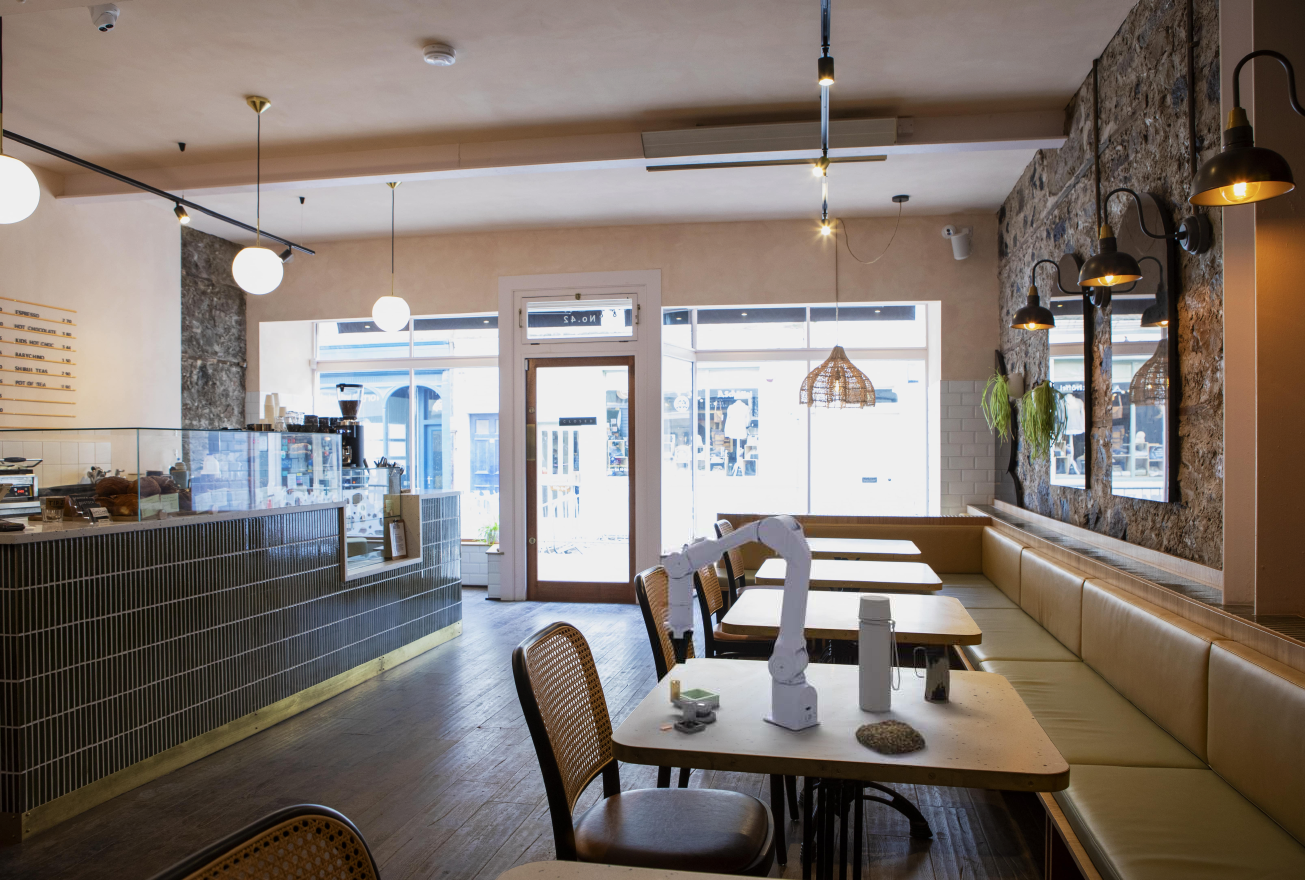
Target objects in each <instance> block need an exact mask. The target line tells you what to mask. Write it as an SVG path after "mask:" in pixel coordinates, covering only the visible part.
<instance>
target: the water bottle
mask: <svg viewBox="0 0 1305 880" xmlns="http://www.w3.org/2000/svg"><path fill="white" fill-rule="evenodd" d="M890 601H891V600H890V597H887V596H883V595H875V594H874V595H871V594H870V595H862V596H860V597H859V606H858V607H859V609H858V616H857V617H858V706H859V708H860V709H862V710H863V711H865V712H869V713H877V714H878V713H879V714H880V713H886V712H888V711H890V709H891V708H892V689H893V691H899V690H900V689H899V688H900V687H901V686H900V685H901V675H900V667H899V666H900V665H899V658H898V657H899V656H898V650H897V639H896V632H895V628H896V622H897V621H895V620H894V619H892V614H891V613H892V611H891V602H890ZM890 621H891V622H890ZM891 629H892V630H891ZM891 633H892V635H891ZM891 636H892V639H891ZM891 645H892V646H891ZM894 647H895V648H894ZM891 648H892V649H891ZM894 649H895V656H896V665H897V666H896V667H897V675H898V684H897V688H895V686H894V684H893V683H894Z"/></svg>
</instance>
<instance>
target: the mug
mask: <svg viewBox="0 0 1305 880" xmlns="http://www.w3.org/2000/svg"><path fill="white" fill-rule="evenodd" d="M919 649H920V650H924V654H925V667H926V668H925V669H926V670H925V676H926V677H925V676H924V675H923V676H920V675H918V671H917V666H916V651H917V650H919ZM913 659H914V660H913V662H914V671H915V674H916V676H917V677H918V678H922V679H924V678H925V689H924V696H923V697H924V698H923V699H924V701H926V702H928V703H933V704H947V703H950V691H951V689H950V688H951V685H950V684H951V683H950V679H951V675H950V673H951V672H950V662H949V654H948V652H946V651H945V650H938V649H930V650H927V649H926V648H925V647H923V646H917V647H915V648H914V650H913Z"/></svg>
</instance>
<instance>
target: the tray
mask: <svg viewBox="0 0 1305 880" xmlns="http://www.w3.org/2000/svg"><path fill="white" fill-rule="evenodd" d="M680 697H684V698H688V699H692V700H704V701H709V702H711V709H712V708H717V707H719V706H720V694H718V693H715V692H713V691H710V690H706V689H704V688H701V687H695V688H694V687H693V688H690V689H686V690H682V691H681V690H680ZM674 705H675V706H678V707H681V708H683V706H682V705H678V704H674Z"/></svg>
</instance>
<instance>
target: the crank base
mask: <svg viewBox="0 0 1305 880" xmlns="http://www.w3.org/2000/svg"><path fill="white" fill-rule="evenodd" d="M716 721H717V713H716V712H715V711H713V710H711V714H710V715H708V716H696V726H694V727H690V728H688V727H685V726H683V720H681V721H678V722H674V723H673V727H672V726H671V725H667V726H663V727H660V728H659V730H661V731H665V730H668V729H673V728H674V729H676V730H677V731H681V732H682V733H685V734H688V735H689V734H692V733H697V732H701V731H703V730H706V724H708V725H709V724H712V723H714V722H716Z"/></svg>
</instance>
